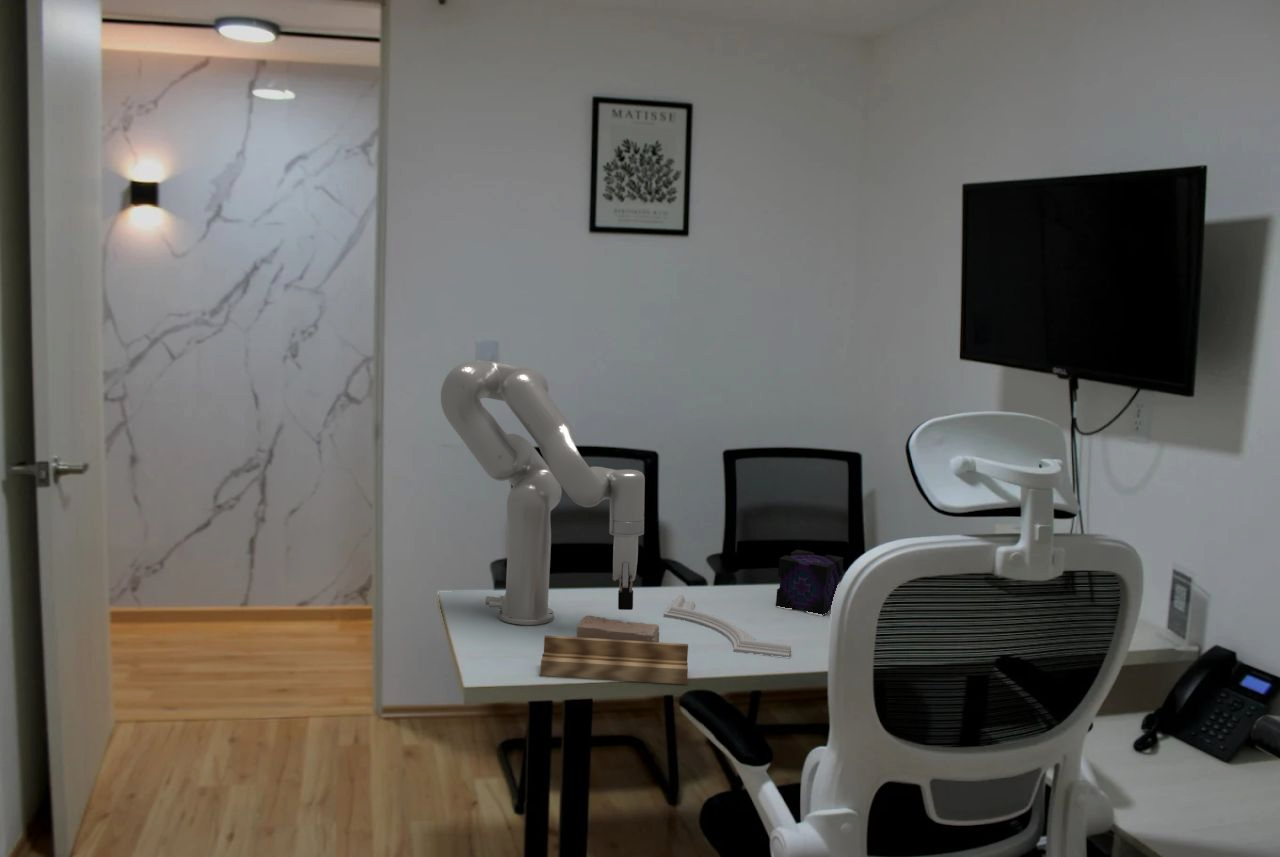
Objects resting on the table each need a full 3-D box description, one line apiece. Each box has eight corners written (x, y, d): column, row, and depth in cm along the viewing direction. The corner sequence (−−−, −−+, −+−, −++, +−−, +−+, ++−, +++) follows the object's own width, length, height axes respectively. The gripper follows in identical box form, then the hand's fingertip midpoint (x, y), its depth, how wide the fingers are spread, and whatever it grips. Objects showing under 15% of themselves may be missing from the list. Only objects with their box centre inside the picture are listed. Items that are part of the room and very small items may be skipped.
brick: (659, 642, 237) (660, 621, 237) (653, 655, 229) (655, 633, 228) (583, 635, 240) (584, 614, 239) (575, 647, 231) (576, 625, 231)
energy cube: (793, 596, 279) (797, 549, 277) (839, 605, 273) (843, 557, 272) (775, 607, 268) (779, 558, 267) (823, 616, 263) (827, 567, 261)
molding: (802, 659, 233) (803, 645, 233) (757, 666, 227) (758, 652, 226) (685, 604, 268) (686, 592, 268) (643, 609, 262) (644, 597, 261)
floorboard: (540, 675, 213) (541, 645, 212) (545, 658, 223) (547, 629, 222) (686, 684, 212) (688, 654, 212) (685, 666, 222) (687, 637, 222)
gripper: (610, 519, 250) (609, 599, 252) (608, 533, 235) (606, 618, 237) (644, 520, 250) (643, 599, 252) (643, 534, 235) (642, 619, 237)
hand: (625, 608), depth 245 cm, fingers closed
